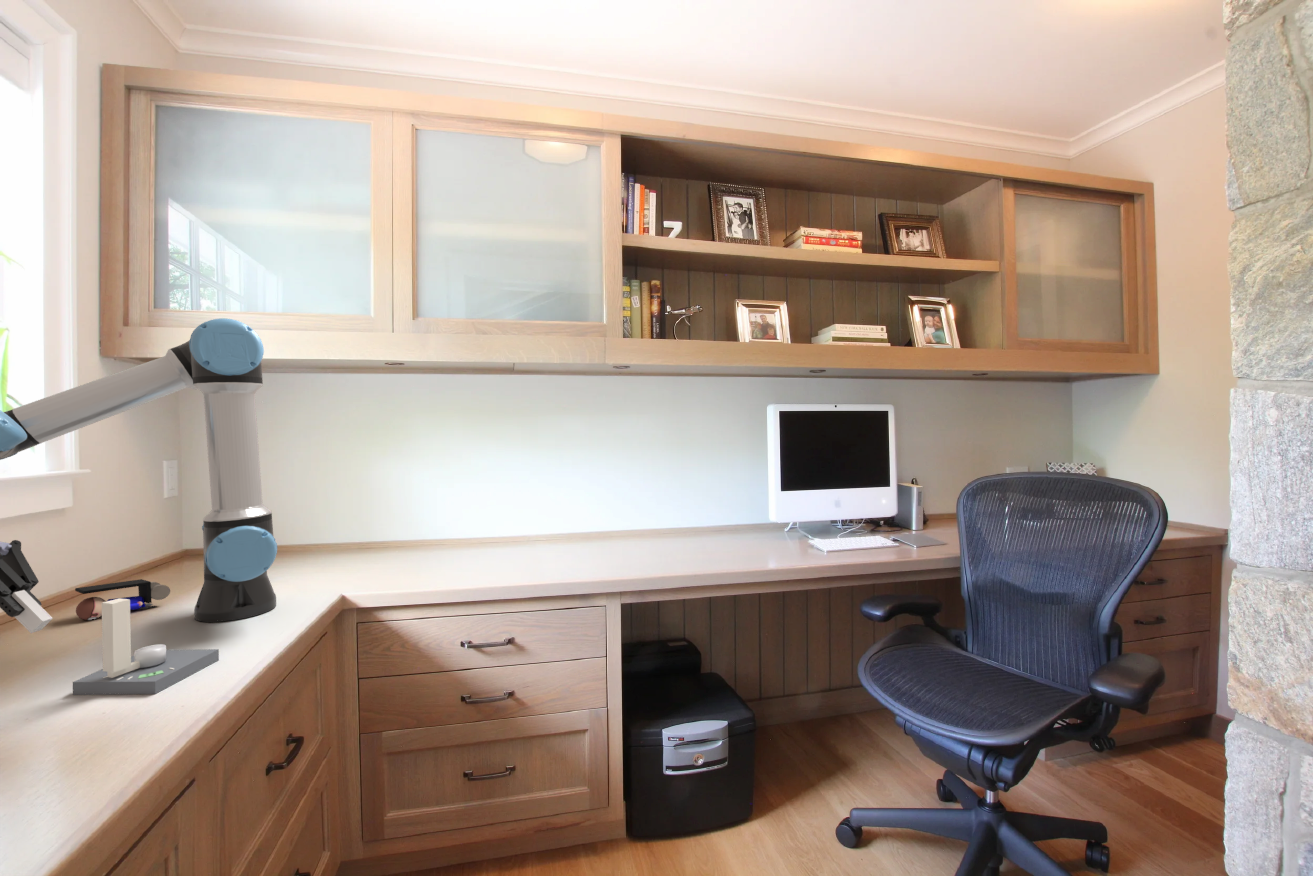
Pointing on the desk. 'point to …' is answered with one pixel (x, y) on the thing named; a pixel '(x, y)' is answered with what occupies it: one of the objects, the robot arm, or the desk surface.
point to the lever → (124, 641)
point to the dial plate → (148, 674)
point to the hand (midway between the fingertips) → (41, 625)
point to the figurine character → (147, 590)
